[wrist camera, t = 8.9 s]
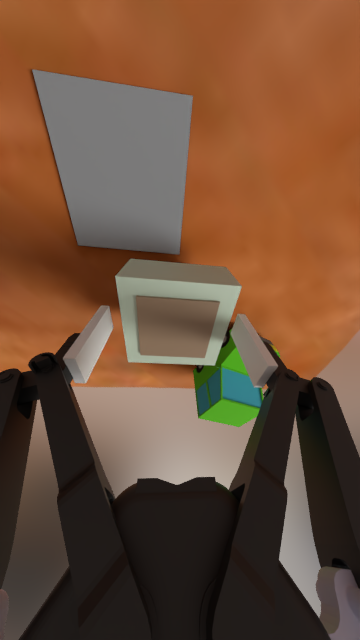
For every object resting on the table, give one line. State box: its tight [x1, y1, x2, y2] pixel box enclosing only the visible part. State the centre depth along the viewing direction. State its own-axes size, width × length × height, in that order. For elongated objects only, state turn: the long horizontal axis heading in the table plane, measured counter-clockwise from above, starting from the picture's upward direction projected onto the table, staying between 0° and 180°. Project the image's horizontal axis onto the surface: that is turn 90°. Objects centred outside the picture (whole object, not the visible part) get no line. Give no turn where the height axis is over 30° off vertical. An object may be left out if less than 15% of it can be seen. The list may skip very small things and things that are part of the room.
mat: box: [32, 70, 193, 254], centre depth 16 cm, size 12×12×1 cm
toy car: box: [193, 329, 280, 427], centre depth 26 cm, size 10×13×10 cm
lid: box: [115, 259, 242, 366], centre depth 17 cm, size 10×10×5 cm
